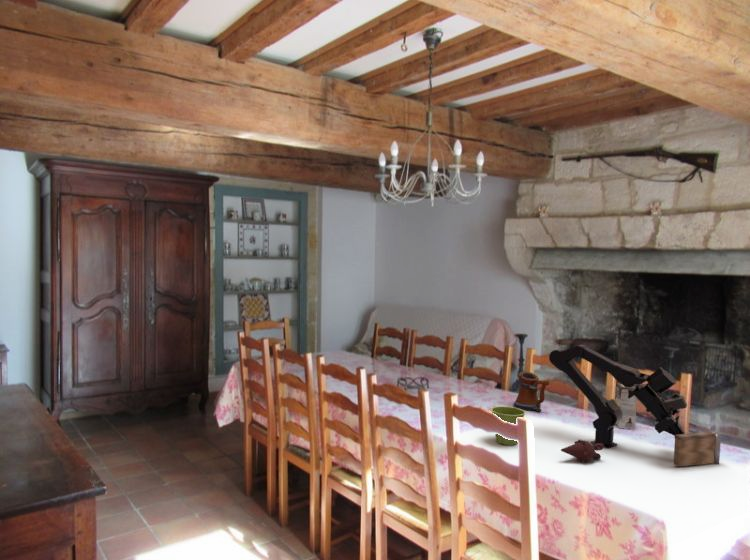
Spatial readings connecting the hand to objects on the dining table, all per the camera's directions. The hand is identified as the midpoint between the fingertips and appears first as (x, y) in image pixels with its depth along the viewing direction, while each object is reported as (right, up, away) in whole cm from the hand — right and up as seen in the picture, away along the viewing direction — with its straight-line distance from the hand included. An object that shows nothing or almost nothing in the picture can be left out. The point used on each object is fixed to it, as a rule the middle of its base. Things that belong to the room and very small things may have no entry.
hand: (687, 440), depth 182 cm
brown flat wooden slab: (+1, -7, -2) cm, 7 cm away
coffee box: (-3, -6, +39) cm, 39 cm away
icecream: (-35, -6, -1) cm, 35 cm away
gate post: (+9, -8, +1) cm, 12 cm away
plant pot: (-55, -5, +15) cm, 57 cm away
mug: (-34, -4, +58) cm, 67 cm away
